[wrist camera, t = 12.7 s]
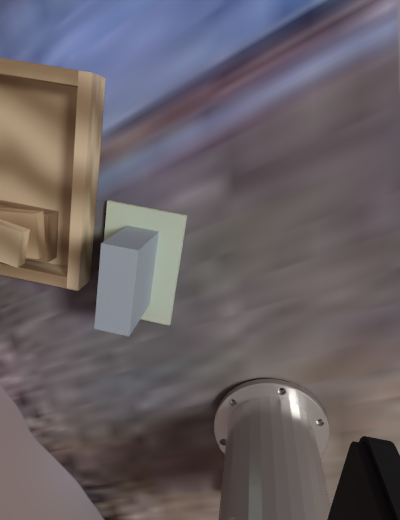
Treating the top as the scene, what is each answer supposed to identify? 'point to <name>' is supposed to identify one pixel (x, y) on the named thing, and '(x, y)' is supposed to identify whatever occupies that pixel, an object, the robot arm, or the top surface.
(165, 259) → the mat
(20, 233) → the offcut pine
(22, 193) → the tray
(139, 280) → the grey rectangular block
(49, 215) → the tan flat block
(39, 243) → the offcut oak
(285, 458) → the robot arm
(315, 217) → the top surface
